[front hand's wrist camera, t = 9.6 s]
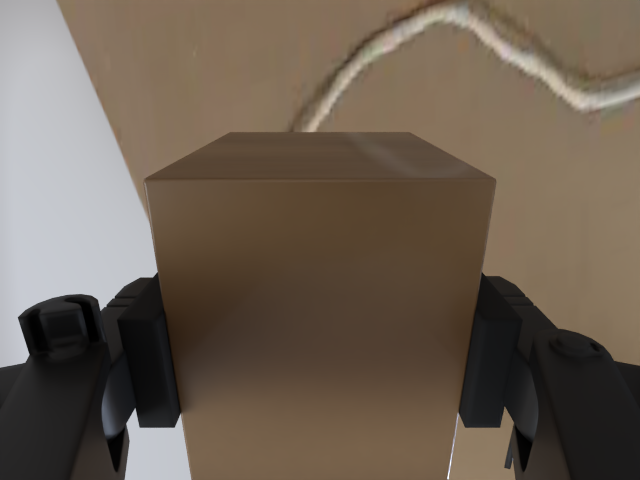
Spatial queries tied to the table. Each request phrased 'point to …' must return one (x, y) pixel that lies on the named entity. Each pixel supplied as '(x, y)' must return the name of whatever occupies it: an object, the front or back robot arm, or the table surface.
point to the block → (319, 301)
